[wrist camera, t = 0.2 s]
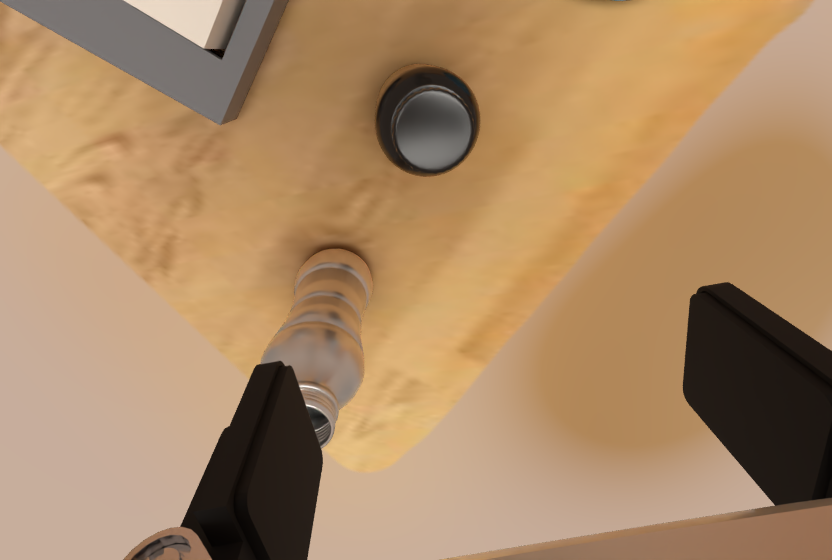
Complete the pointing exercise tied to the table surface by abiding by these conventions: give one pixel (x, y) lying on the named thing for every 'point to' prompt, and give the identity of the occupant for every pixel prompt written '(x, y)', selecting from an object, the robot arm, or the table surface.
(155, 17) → the cream button
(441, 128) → the supplement bottle
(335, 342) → the plastic bottle
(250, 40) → the button panel
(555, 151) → the table surface
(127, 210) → the table surface
